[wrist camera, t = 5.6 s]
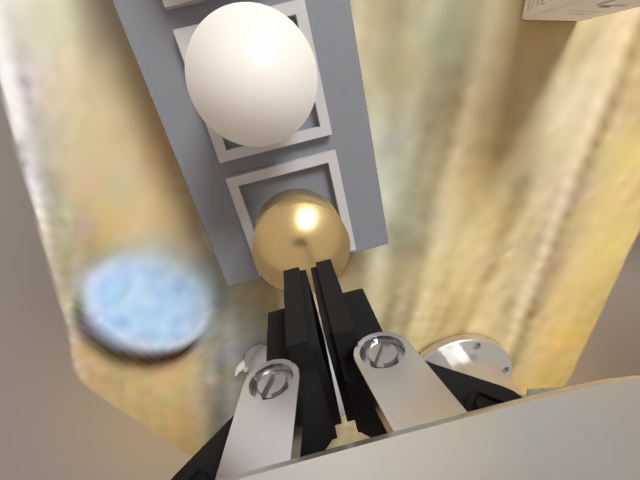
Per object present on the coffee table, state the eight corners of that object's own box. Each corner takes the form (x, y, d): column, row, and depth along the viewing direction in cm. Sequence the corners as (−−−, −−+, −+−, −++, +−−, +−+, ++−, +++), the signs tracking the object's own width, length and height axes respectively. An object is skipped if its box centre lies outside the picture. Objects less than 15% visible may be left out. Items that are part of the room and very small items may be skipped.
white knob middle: (317, 123, 18) (329, 130, 14) (225, 147, 17) (212, 160, 14) (293, 13, 16) (299, -14, 12) (188, 39, 15) (162, 19, 12)
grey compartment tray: (370, 220, 29) (391, 246, 24) (234, 256, 28) (226, 291, 23) (301, -160, 19) (312, -254, 14) (95, -112, 19) (29, -192, 14)
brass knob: (346, 255, 21) (358, 279, 18) (269, 276, 21) (268, 304, 18) (329, 178, 19) (339, 192, 16) (243, 201, 19) (238, 218, 16)
